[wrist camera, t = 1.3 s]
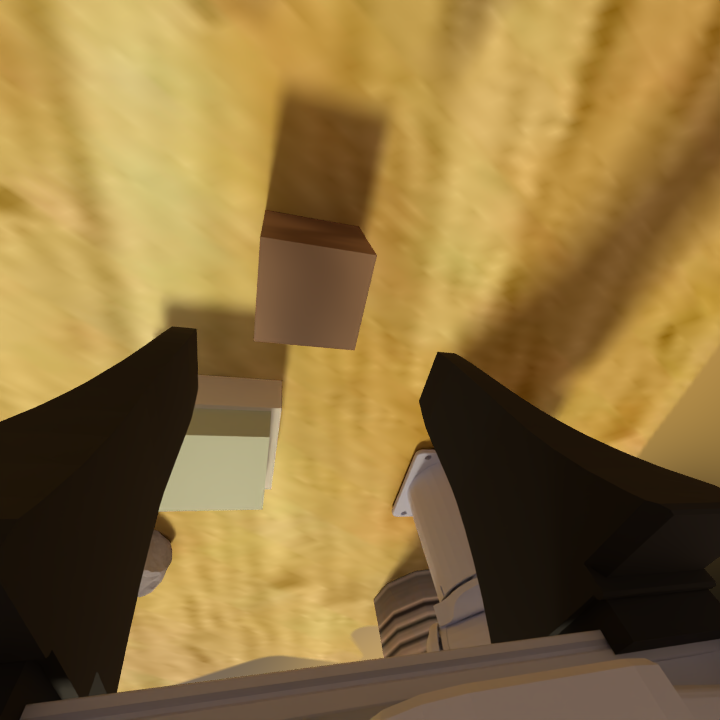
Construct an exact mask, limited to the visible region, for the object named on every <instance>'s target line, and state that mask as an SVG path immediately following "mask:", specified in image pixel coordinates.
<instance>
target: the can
mask: <svg viewBox="0 0 720 720" xmlns="http://www.w3.org/2000/svg"><path fill="white" fill-rule="evenodd" d="M438 603H440V602H439V599H438V595H437V592H436V589H435V586H434V583H433V579H432V576H431V573H430V570H421V571H415V572H412V573H410V574H408V575H406V576H403V577H401V578H399V579H397V580H394V581H392V582H390V583H388V584H387V585H386V586H385V587H384V588H383V589H382V590H381V591H380V593H379V594H378V595H377V596H376V597H375V598H374V604H375V610H376V616H377V621H378V627H379V632H380V637H381V643H382V649H383V655H384V658H387V657H395V656H402V655H410V654H418V653H425V652H427V648H426V647H427V639H428V636H429V630H430V627H431V625H432V624H434V623H437V622H438V620H437V617H436V614H435V610H434V607H433V606H434V605H435V604H438Z"/></svg>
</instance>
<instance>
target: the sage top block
mask: <svg viewBox="0 0 720 720" xmlns="http://www.w3.org/2000/svg"><path fill="white" fill-rule="evenodd" d="M270 421H271V411H250V410H227V409H202V408H194V411H193V415H192V419H191V422H190V425H189V427H188V430H187V433H186V435H185V438H184V441H183V443H182V446H181V449H180V451H179V454H178V457H177V459H176V462H175V465H174V467H173V470H172V473H171V475H170V478H169V481H168V483H167V486H166V489H165V492H164V495H163V498H162V501H161V504H160V507H159V511H158V512H160V511H210V510H260V509H263V500H264V489H265V479H266V469H267V459H268V448H269V438H270Z"/></svg>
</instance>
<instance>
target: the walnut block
mask: <svg viewBox="0 0 720 720" xmlns="http://www.w3.org/2000/svg"><path fill="white" fill-rule="evenodd" d="M376 257H377V255H376V253H375V252H374V250H373V249H372V247H371V245H370V244H369V242H368V241H367V239H366V237H365V236H364V234H363V233H362V231H361V230H360V228H359V227H357V226H352V225H346V224H341V223H335V222H330V221H324V220H318V219H313V218H307V217H302V216H296V215H290V214H285V213H279V212H274V211H268V210H265V215H264V221H263V226H262V231H261V236H260V250H259V266H258V282H257V297H256V313H255V329H254V341H257V342H268V343H279V344H290V345H301V346H313V347H324V348H335V349H346V350H355V346H356V342H357V338H358V333H359V329H360V325H361V321H362V316H363V312H364V308H365V304H366V299H367V295H368V291H369V287H370V282H371V278H372V274H373V270H374V265H375V261H376Z"/></svg>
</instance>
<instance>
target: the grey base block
mask: <svg viewBox="0 0 720 720" xmlns="http://www.w3.org/2000/svg"><path fill="white" fill-rule="evenodd" d="M194 408H202V409H227V410H250V411H271V421H270V438H269V448H268V459H267V469H266V479H265V489H271V487H272V479H273V471H274V463H275V456H276V448H277V440H278V432H279V424H280V417H281V409H282V380H268V379H253V378H239V377H224V376H210V375H198V392H197V397H196V402H195V406H194Z"/></svg>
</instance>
